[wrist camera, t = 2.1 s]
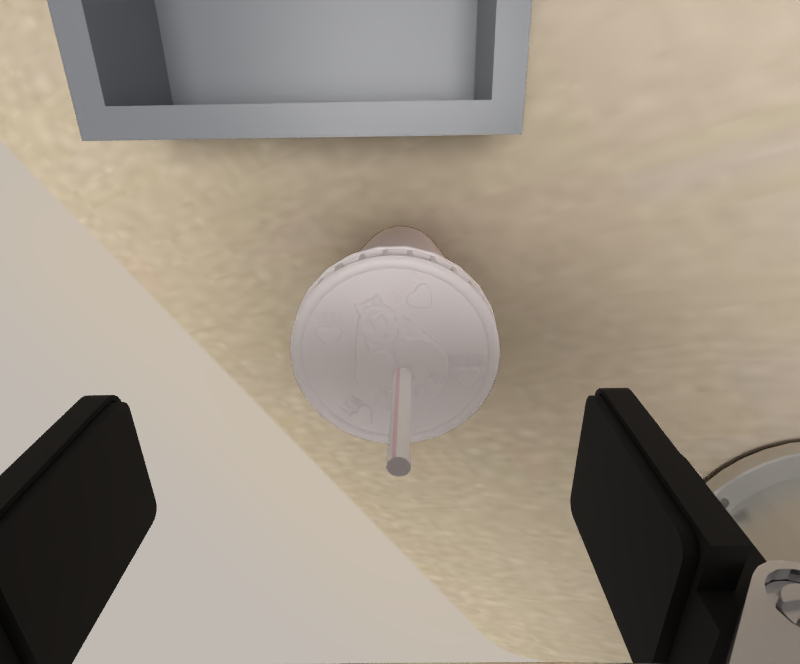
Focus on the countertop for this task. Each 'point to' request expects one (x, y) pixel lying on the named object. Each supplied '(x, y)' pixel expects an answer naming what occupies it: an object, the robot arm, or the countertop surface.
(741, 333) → the countertop surface
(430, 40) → the box
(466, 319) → the smoothie
